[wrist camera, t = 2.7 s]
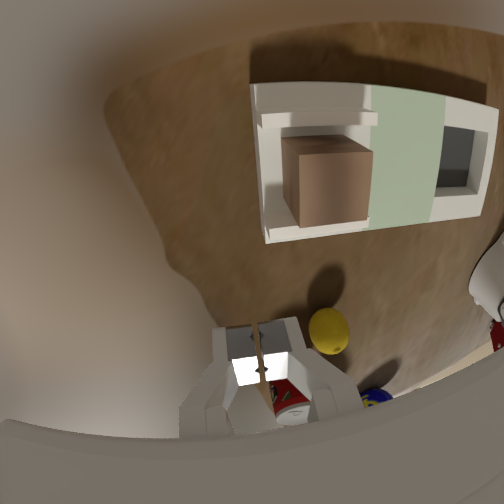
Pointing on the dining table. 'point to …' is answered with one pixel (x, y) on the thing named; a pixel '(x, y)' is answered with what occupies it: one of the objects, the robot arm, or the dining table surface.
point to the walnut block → (326, 179)
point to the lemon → (329, 331)
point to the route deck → (378, 151)
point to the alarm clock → (497, 335)
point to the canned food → (288, 402)
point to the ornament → (374, 397)
